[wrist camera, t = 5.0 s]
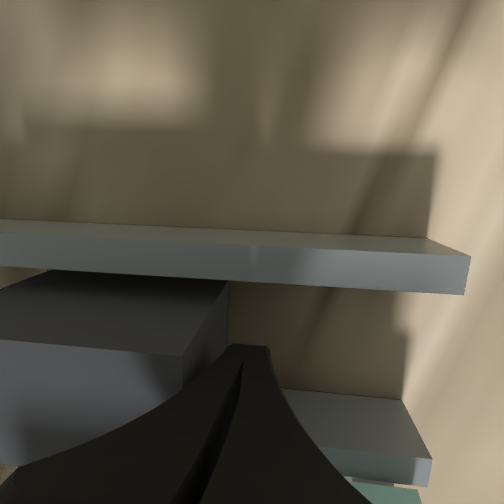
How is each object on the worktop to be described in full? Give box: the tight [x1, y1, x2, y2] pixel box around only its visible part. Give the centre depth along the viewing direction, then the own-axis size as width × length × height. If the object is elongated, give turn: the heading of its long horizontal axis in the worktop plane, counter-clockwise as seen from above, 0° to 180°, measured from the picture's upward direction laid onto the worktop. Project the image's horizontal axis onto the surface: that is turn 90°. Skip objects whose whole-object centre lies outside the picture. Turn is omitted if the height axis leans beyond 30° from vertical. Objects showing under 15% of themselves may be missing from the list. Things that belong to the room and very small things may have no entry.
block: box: [0, 269, 228, 467], centre depth 11 cm, size 4×8×6 cm, turn 89°
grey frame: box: [0, 219, 471, 487], centre depth 12 cm, size 11×24×6 cm, turn 89°
